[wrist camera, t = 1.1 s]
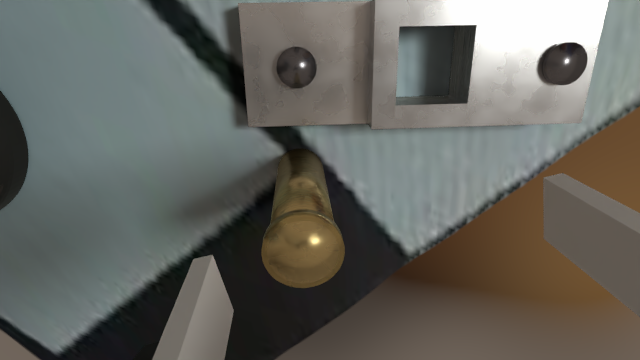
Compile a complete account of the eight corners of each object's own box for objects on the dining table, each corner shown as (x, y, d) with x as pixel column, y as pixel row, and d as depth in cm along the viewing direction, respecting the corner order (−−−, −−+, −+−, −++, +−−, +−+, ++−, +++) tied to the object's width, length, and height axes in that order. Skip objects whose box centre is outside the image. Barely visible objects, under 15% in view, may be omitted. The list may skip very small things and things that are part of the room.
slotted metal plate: (251, 121, 33) (244, 135, 29) (241, 4, 30) (232, 0, 26) (549, 113, 34) (586, 124, 30) (571, 0, 31) (615, -5, 27)
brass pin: (276, 195, 36) (264, 289, 22) (272, 146, 34) (258, 217, 21) (326, 193, 36) (344, 285, 23) (325, 144, 34) (344, 213, 21)
